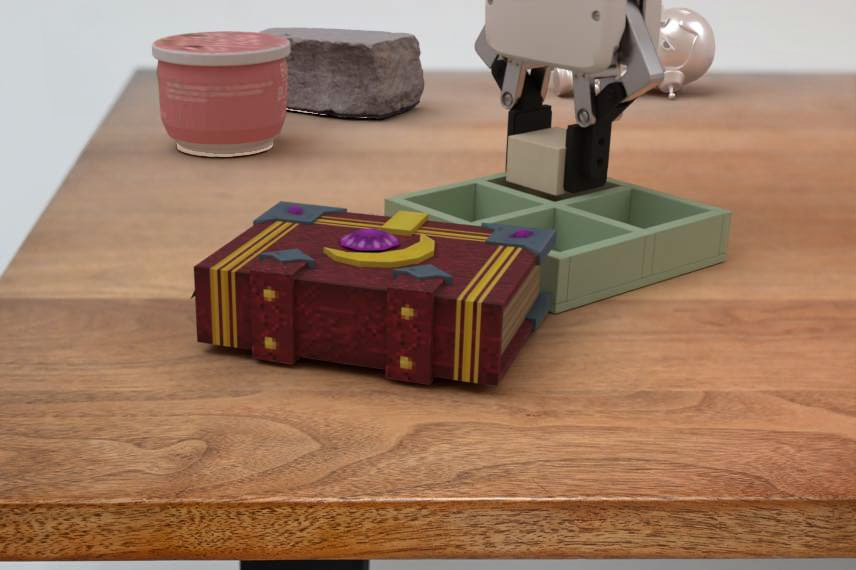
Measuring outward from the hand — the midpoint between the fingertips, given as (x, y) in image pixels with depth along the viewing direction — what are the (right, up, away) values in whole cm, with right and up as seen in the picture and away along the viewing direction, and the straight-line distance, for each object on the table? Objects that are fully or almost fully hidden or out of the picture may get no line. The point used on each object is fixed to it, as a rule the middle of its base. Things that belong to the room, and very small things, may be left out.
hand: (555, 177), depth 76 cm
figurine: (+14, +14, +40) cm, 45 cm away
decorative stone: (-13, +11, +34) cm, 37 cm away
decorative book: (-12, -10, -14) cm, 21 cm away
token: (0, 0, 0) cm, 0 cm away
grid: (-1, -5, -3) cm, 6 cm away
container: (-22, +5, +22) cm, 31 cm away
